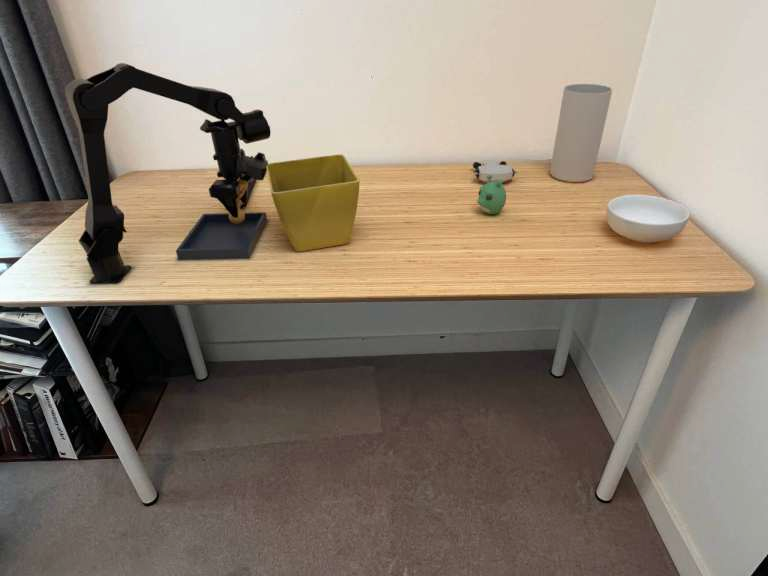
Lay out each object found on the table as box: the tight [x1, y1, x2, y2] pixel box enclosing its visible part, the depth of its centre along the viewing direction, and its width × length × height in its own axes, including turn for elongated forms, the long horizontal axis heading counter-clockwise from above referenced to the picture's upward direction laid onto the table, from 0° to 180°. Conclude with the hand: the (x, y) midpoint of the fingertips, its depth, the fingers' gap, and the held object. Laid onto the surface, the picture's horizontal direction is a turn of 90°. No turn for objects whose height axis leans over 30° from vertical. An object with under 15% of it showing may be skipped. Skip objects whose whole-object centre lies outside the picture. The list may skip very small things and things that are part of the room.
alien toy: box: [476, 175, 507, 215], centre depth 123 cm, size 7×8×10 cm
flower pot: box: [266, 153, 360, 253], centre depth 113 cm, size 19×19×17 cm
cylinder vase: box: [549, 83, 613, 183], centre depth 139 cm, size 12×12×25 cm
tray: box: [175, 211, 268, 261], centre depth 118 cm, size 20×17×2 cm
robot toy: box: [470, 158, 519, 184], centre depth 145 cm, size 12×4×15 cm
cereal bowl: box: [606, 194, 690, 244], centre depth 111 cm, size 17×17×7 cm
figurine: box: [228, 179, 248, 224], centre depth 118 cm, size 8×6×12 cm
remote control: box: [238, 177, 258, 210], centre depth 142 cm, size 5×24×1 cm, turn 4°
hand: (240, 209), depth 119 cm, fingers closed on figurine, 8 cm apart
